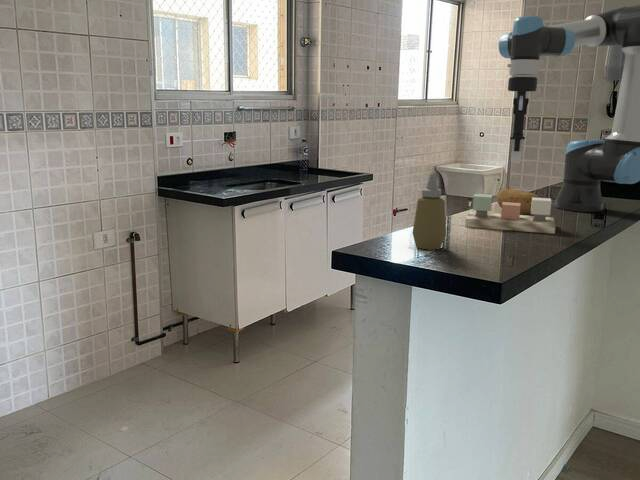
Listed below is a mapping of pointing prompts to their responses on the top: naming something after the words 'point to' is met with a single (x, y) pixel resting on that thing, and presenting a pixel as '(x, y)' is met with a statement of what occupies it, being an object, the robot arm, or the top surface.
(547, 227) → the board
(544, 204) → the block cream
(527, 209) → the potato
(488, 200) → the block sage
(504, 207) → the block terracotta
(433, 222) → the squeeze bottle
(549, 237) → the top surface
